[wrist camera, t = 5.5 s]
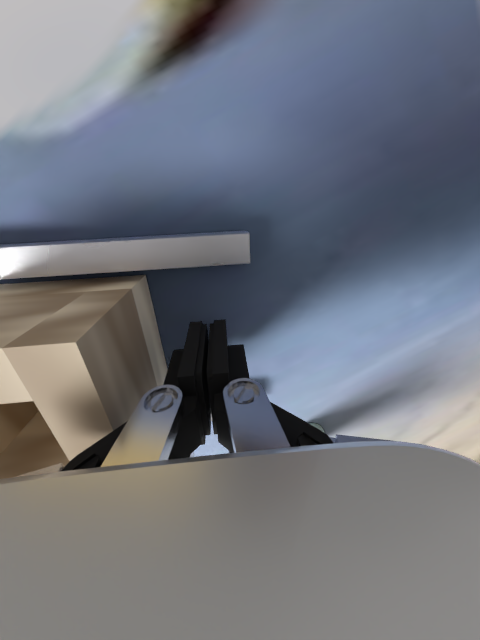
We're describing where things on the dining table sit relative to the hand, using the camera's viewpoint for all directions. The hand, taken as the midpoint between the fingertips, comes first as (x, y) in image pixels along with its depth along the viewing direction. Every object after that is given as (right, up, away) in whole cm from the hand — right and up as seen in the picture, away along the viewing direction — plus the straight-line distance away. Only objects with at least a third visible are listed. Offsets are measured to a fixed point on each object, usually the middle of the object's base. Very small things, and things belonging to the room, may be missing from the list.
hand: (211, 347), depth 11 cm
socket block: (-6, 0, +1) cm, 6 cm away
